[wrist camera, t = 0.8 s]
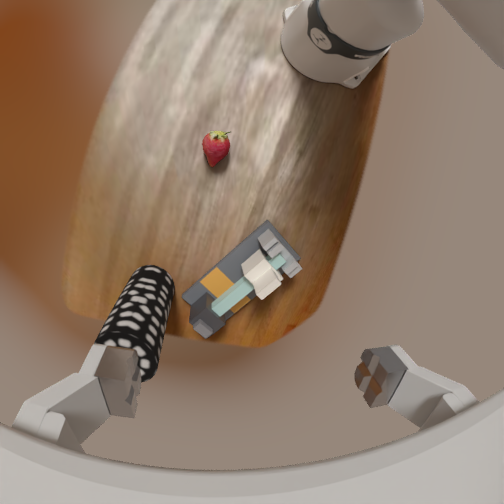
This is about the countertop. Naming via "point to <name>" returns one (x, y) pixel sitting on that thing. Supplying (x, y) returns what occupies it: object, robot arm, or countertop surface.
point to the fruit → (216, 146)
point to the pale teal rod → (241, 289)
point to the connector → (205, 316)
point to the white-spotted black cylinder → (141, 317)
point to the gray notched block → (275, 247)
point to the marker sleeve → (261, 274)
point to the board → (233, 270)
